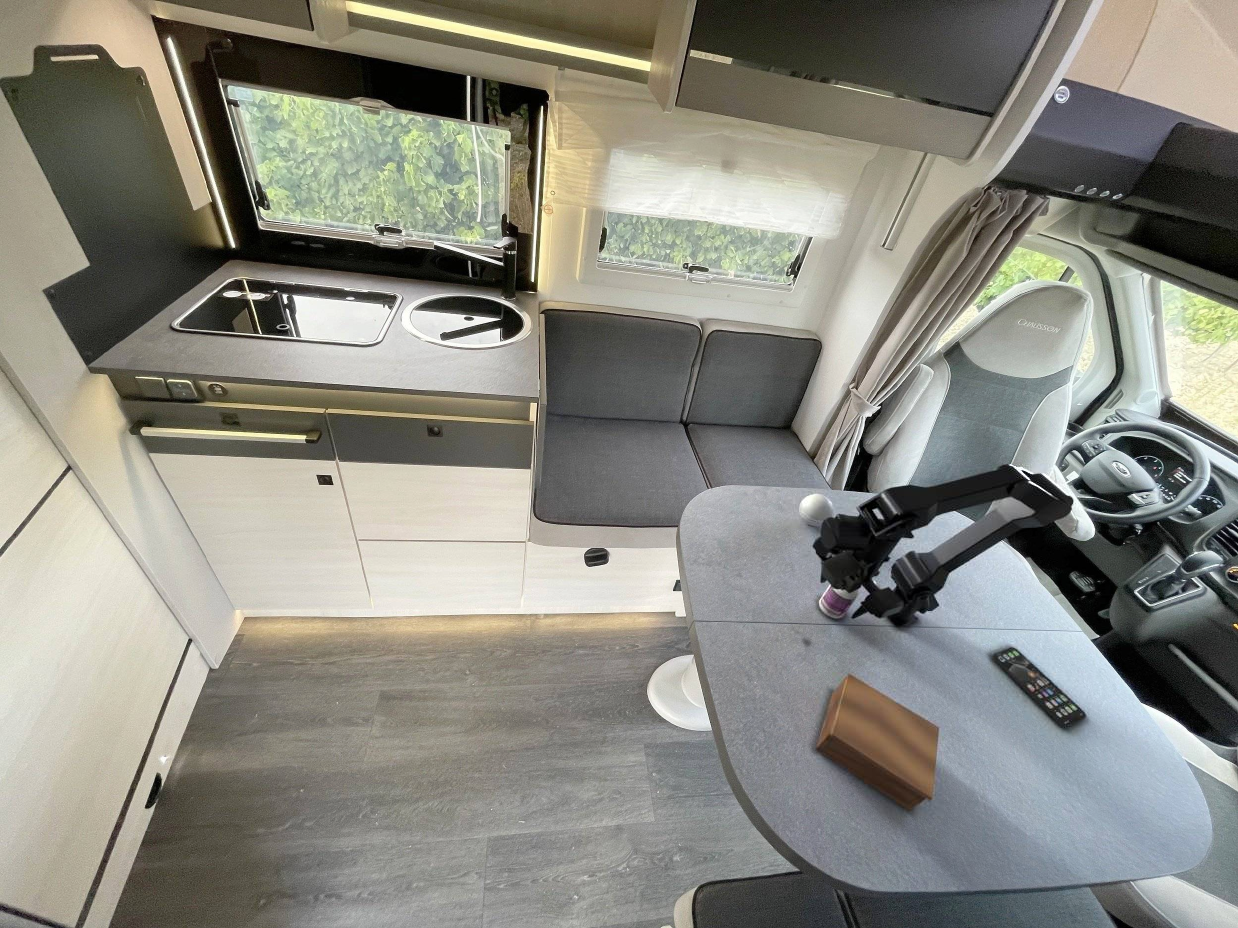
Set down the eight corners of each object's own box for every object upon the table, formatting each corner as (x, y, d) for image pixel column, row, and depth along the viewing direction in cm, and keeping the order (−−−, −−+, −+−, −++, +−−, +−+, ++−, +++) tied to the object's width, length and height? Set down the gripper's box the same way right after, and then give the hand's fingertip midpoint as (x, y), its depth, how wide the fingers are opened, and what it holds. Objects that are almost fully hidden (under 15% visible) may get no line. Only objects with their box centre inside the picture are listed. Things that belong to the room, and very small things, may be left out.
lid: (929, 800, 71) (932, 798, 70) (829, 736, 76) (831, 733, 75) (936, 729, 80) (939, 726, 79) (846, 675, 85) (848, 673, 84)
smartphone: (1013, 645, 103) (1088, 715, 92) (1011, 647, 103) (1086, 717, 93) (991, 654, 100) (1066, 727, 89) (989, 656, 100) (1063, 729, 90)
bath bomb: (796, 506, 129) (808, 483, 124) (826, 518, 127) (840, 495, 123) (792, 525, 123) (804, 501, 118) (824, 537, 121) (838, 514, 116)
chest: (909, 810, 75) (930, 795, 71) (815, 748, 80) (830, 731, 76) (917, 745, 83) (936, 729, 80) (832, 693, 88) (846, 675, 85)
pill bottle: (844, 623, 101) (866, 593, 95) (818, 613, 102) (838, 583, 96) (843, 603, 105) (864, 573, 100) (818, 594, 106) (837, 564, 100)
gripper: (807, 520, 96) (779, 573, 105) (880, 597, 83) (840, 649, 92) (849, 511, 100) (818, 562, 110) (924, 582, 87) (882, 634, 97)
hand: (837, 599), depth 102 cm, fingers open, 9 cm apart
